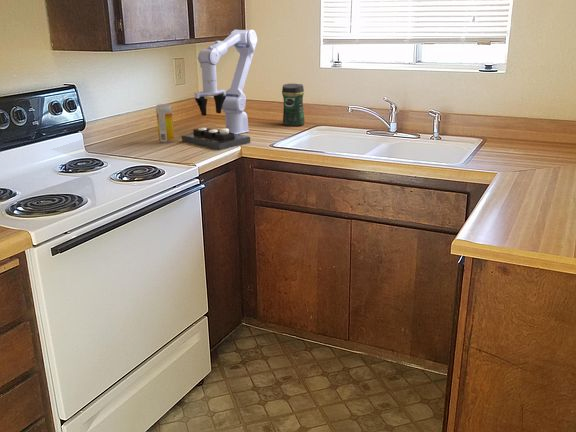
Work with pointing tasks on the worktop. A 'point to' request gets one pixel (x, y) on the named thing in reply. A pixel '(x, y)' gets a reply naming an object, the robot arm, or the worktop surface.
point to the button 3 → (224, 131)
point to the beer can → (165, 123)
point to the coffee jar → (293, 104)
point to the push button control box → (215, 139)
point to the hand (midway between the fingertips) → (211, 114)
